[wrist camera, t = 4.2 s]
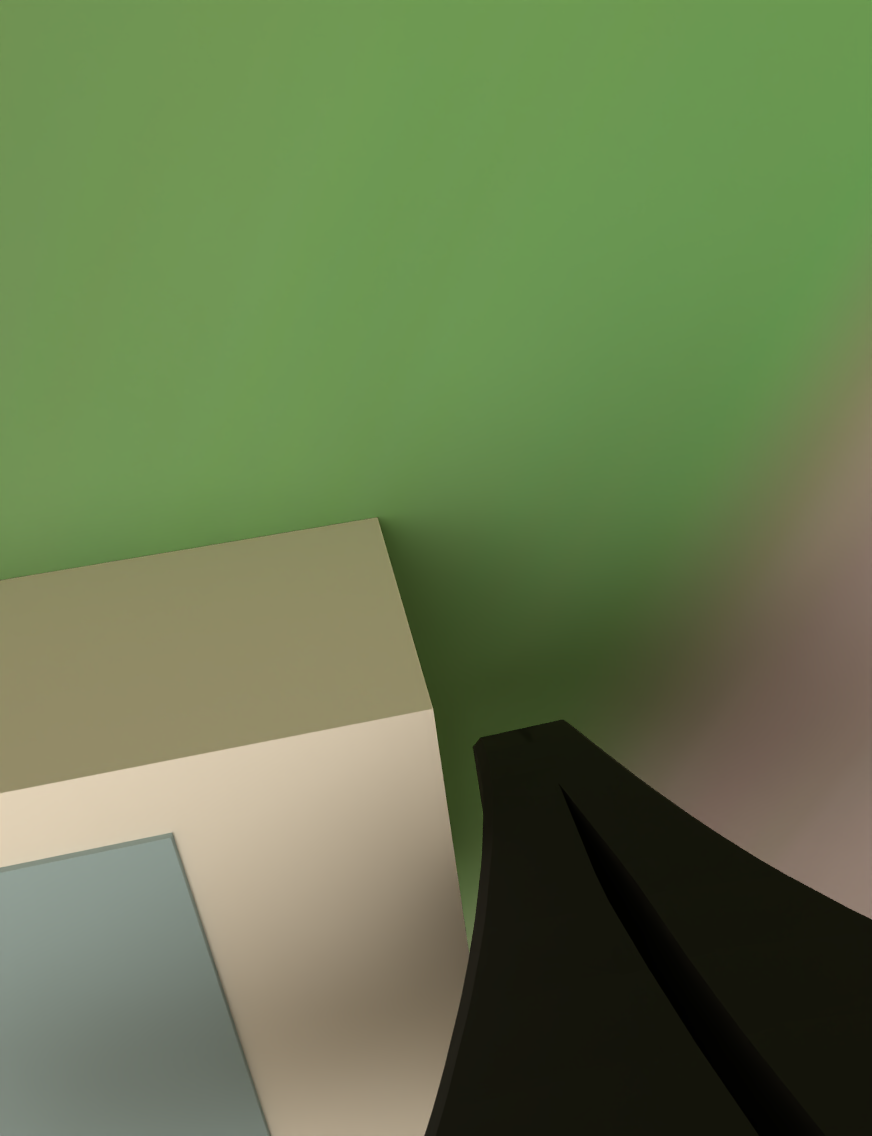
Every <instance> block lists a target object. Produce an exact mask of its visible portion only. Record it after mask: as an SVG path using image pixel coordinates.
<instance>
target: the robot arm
mask: <svg viewBox="0 0 872 1136" xmlns="http://www.w3.org/2000/svg"><path fill="white" fill-rule="evenodd" d="M473 750H474V756H475V763H476V769H477V776H478V782H479V789H480V795H481V802H482V808H483V843H482V862H481V872H480V881H479V890H478V898H477V907H476V916H475V923H474V929H473V936H472V942H471V948H470V954H469V959H468V965H467V970H466V975H465V980H464V985H463V990H462V995H461V999H460V1004H459V1008H458V1013H457V1017H456V1021H455V1025H454V1029H453V1033H452V1037H451V1041H450V1046H449V1050H448V1054H447V1058H446V1062H445V1066H444V1070H443V1073H442V1077H441V1081H440V1085H439V1088H438V1092H437V1095H436V1099H435V1103H434V1106H433V1110H432V1113H431V1116H430V1119H429V1122H428V1125H427V1129H426V1132H425V1135H424V1136H872V920H871V919H869V918H867V917H865V916H863V915H861V914H859V913H857V912H855V911H853V910H851V909H849V908H847V907H845V906H844V905H842V904H840V903H838V902H836V901H834V900H832V899H830V898H829V897H827V896H825V895H823V894H821V893H819V892H817V891H815V890H814V889H812V888H810V887H808V886H806V885H804V884H802V883H800V882H799V881H797V880H795V879H793V878H791V877H789V876H787V875H786V874H784V873H782V872H780V871H779V870H777V869H775V868H773V867H772V866H770V865H768V864H766V863H765V862H763V861H761V860H760V859H758V858H756V857H755V856H753V855H751V854H750V853H748V852H747V851H745V850H743V849H742V848H740V847H739V846H737V845H735V844H734V843H732V842H731V841H729V840H728V839H726V838H724V837H723V836H721V835H720V834H718V833H716V832H715V831H713V830H712V829H710V828H709V827H707V826H706V825H704V824H703V823H701V822H700V821H699V820H697V819H696V818H694V817H693V816H691V815H690V814H688V813H687V812H685V811H684V810H683V809H681V808H680V807H678V806H677V805H676V804H674V803H673V802H671V801H670V800H668V799H667V798H666V797H664V796H663V795H661V794H660V793H659V792H657V791H656V790H654V789H653V788H651V787H650V786H649V785H647V784H646V783H645V782H643V781H642V780H641V779H639V778H638V777H637V776H635V775H634V774H633V773H631V772H630V771H629V770H627V769H626V768H625V767H624V766H622V765H621V764H620V763H618V762H617V761H616V760H614V759H613V758H612V757H611V756H609V755H608V754H607V753H605V752H604V751H603V750H602V749H600V748H599V747H598V746H597V745H595V744H594V743H593V742H592V741H590V740H589V739H588V738H587V737H585V736H584V735H583V734H582V733H580V732H579V731H578V730H577V729H575V728H574V727H573V726H571V725H570V724H569V723H567V722H566V721H564V720H558V721H554V722H549V723H545V724H540V725H536V726H531V727H527V728H522V729H518V730H513V731H509V732H504V733H500V734H495V735H490V736H486V737H481V738H480V739H479V740H478V741H477V743H476V744H475V745H474V746H473Z"/></svg>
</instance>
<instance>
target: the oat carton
mask: <svg viewBox="0 0 872 1136" xmlns="http://www.w3.org/2000/svg"><path fill="white" fill-rule="evenodd" d="M468 959H469V950H468V943H467V936H466V929H465V922H464V916H463V909H462V902H461V895H460V888H459V882H458V875H457V868H456V861H455V854H454V848H453V841H452V834H451V827H450V820H449V814H448V807H447V800H446V793H445V786H444V780H443V773H442V766H441V759H440V752H439V746H438V739H437V732H436V725H435V718H434V712H433V707H432V703H431V700H430V696H429V693H428V690H427V686H426V683H425V679H424V676H423V672H422V669H421V665H420V662H419V659H418V655H417V652H416V648H415V645H414V641H413V638H412V634H411V631H410V628H409V624H408V621H407V617H406V614H405V610H404V607H403V603H402V600H401V597H400V593H399V590H398V586H397V583H396V579H395V576H394V573H393V569H392V566H391V562H390V559H389V555H388V552H387V548H386V545H385V542H384V538H383V535H382V531H381V528H380V524H379V521H378V517H376V518H370V519H364V520H358V521H352V522H346V523H340V524H334V525H328V526H322V527H316V528H310V529H304V530H298V531H292V532H286V533H280V534H274V535H268V536H263V537H257V538H251V539H245V540H239V541H233V542H227V543H221V544H215V545H209V546H203V547H197V548H191V549H185V550H179V551H173V552H167V553H161V554H155V555H149V556H143V557H137V558H131V559H125V560H119V561H113V562H107V563H101V564H95V565H89V566H83V567H77V568H71V569H65V570H59V571H53V572H47V573H41V574H35V575H29V576H23V577H17V578H11V579H5V580H0V1136H424V1135H425V1132H426V1129H427V1125H428V1122H429V1119H430V1116H431V1113H432V1110H433V1106H434V1103H435V1099H436V1095H437V1092H438V1088H439V1085H440V1081H441V1077H442V1073H443V1070H444V1066H445V1062H446V1058H447V1054H448V1050H449V1046H450V1041H451V1037H452V1033H453V1029H454V1025H455V1021H456V1017H457V1013H458V1008H459V1004H460V999H461V995H462V990H463V985H464V980H465V975H466V970H467V965H468Z"/></svg>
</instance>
